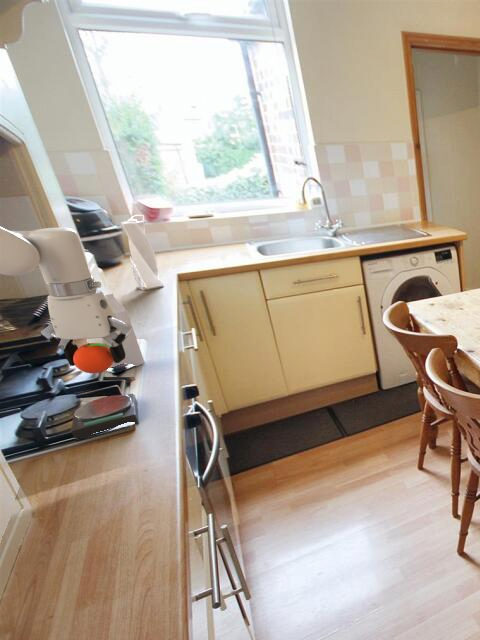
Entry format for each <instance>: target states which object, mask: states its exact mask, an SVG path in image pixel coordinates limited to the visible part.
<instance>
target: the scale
mask: <svg viewBox="0 0 480 640" xmlns="http://www.w3.org/2000/svg"><path fill="white" fill-rule="evenodd" d="M125 396H129V397H130V398H131V401H132V404H131V406H130V407H129V408H127V409H126V410H125V411H123V412H121V413H119V414H116V415H112V416H109V417H105V418H101V419H97V420H93V421H79V420H77V419H76V417H75V415H74V414H73V417H72V423H71V429H70V432H71V434H72V437H73V439H74V438H80V437H85V436H88V435H91V434H93V433H96V432H100V431H104V430H107V429H110V428H113V427H116V426H118V425H121V424H124V423H127V422H135V424H137V425H139V424H140V422H139V421H140V420H139V408H138V409H137V406H138V400H137V397H136V394H135V392H133V393H132V392H131V393H128V394H125ZM79 406H80V407H81V406H82V405H79Z"/></svg>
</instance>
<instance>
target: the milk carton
mask: <svg viewBox="0 0 480 640" xmlns="http://www.w3.org/2000/svg"><path fill="white" fill-rule="evenodd" d="M104 295H105V297H106V298H107V300H108V302H109V303H110V305H111V307H112V310H113V312H114V314H115V317H116V319H117V320H119V321H121V322H124V323H126V324H128V325H130V326H131V330H130V332H129V333H128V336H127V337H126V339H125V340H124V341H123V342H122V345H123V348H124V351H125V359H123V360H122V361H121V362H119V363H114V362H113V364H112V365H111V367H115V366H117V365H120V364H123V363H127V364H133V365H136V367H138V366H141V365H143V364H145V363H146V362H145V359H144V355H143V353H142V350H141V348H140V345H139V342H138V339H137V336H136V334H135V331H134V327H133V325H132V322H131V318H130V316H129V313H128V310H127V309H126V308H125V307H124V306H123V305H122V304H121V302H119V300H118V299H117V298H116V297H115V296H114V293H113V292H111V293H107V294H104ZM115 332H116V333H117V334H118V335H119V334H120V332H121V330H120V329H119V330H117V331H115ZM85 340H86V342H87V344H88V343H102V344H106V345H109V346H112V345H110V344H109V343H108V342H107V341H106V340H104V339H103V338H95V339H85Z"/></svg>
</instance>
